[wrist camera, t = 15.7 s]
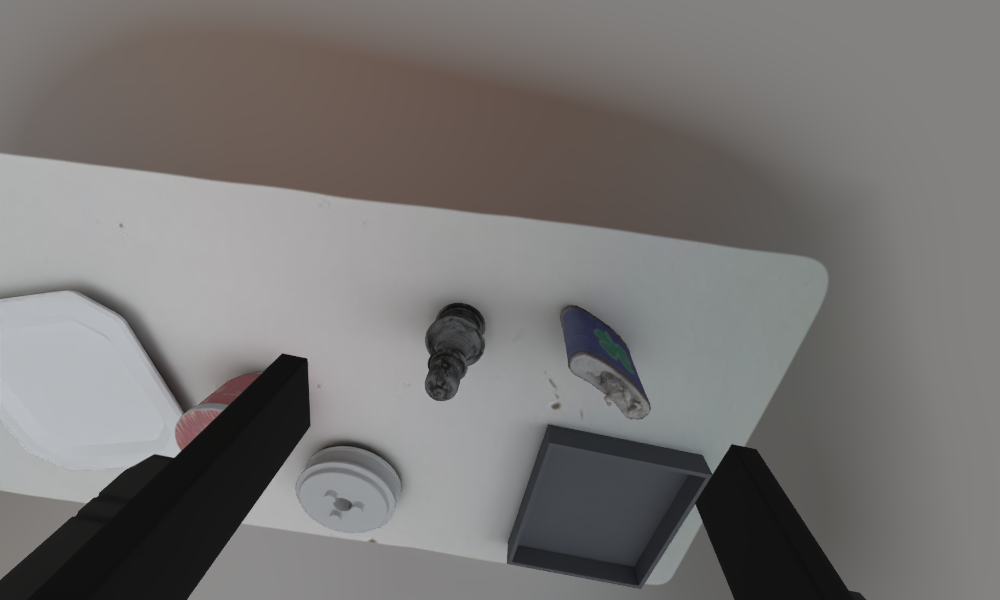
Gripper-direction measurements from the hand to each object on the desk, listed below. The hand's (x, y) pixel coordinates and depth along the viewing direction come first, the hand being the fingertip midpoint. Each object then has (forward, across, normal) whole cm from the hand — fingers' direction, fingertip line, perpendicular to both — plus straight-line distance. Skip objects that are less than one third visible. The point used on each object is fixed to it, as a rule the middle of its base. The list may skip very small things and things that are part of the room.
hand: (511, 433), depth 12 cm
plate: (+26, -49, -31) cm, 63 cm away
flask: (+27, +10, -10) cm, 30 cm away
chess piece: (+26, -4, -12) cm, 30 cm away
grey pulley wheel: (+26, -15, -38) cm, 49 cm away
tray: (+26, +17, -35) cm, 47 cm away
